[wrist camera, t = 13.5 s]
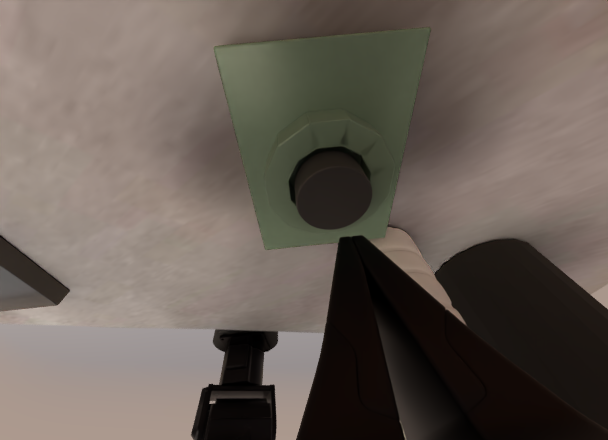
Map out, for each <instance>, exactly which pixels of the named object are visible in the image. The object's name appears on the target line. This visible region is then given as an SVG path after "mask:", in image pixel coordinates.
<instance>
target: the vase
mask: <svg viewBox="0 0 608 440" xmlns="http://www.w3.org/2000/svg"><path fill="white" fill-rule="evenodd" d="M435 277H436V280H437V281H438V282H439V283H440V284H441V286H442V287H443V289H444V290H445V292H446V293H447V295H448V296H449V298H450V300H451V305H452V307H453V308H454V309H456V310H457V311H458V312H459V314H460V315H461V316H462V318H463V320H464V321H465V323H466V325H467V327H469V328H470V329H471V330H472V331H473V332H475V333H476V334H477V335H478V336H479V337H481V338H482V339H483V340H484V341H486V342H487V343H488V344H490V345H491V346H492V347H493V348H495V349H496V350H497V351H499V352H500V353H501V354H502V355H504V356H505V357H506V358H508V359H509V360H510V361H512V362H513V363H514V364H516V365H517V366H518V367H520V368H521V369H522V370H524V371H525V372H526V373H528V374H529V375H530V376H531V377H533V378H534V379H535V380H537V381H538V382H539V383H541V384H542V385H543V386H545V387H546V388H547V389H549V390H550V391H551V392H553V393H554V394H555V395H557V396H558V397H559V398H561V399H562V400H563V401H565V402H566V403H567V404H569V405H570V406H571V407H573V408H574V409H576V410H577V411H578V412H580V413H582V414H583V415H585V416H586V417H588V418H589V419H591V420H592V421H594V422H595V423H597V424H599V425H600V426H602V427H604V428H605V429H607V430H608V309H607V308H605V307H604V306H603V305H602V304H601V303H599V302H598V301H597V300H596V299H595V298H593V297H592V296H591V295H590V294H589V293H587V292H586V291H585V290H584V289H583V288H581V287H580V286H579V285H578V284H577V283H575V282H574V281H573V280H572V279H571V278H569V277H568V276H567V275H566V274H565V273H563V272H562V271H561V270H560V269H559V268H557V267H556V266H555V265H554V264H553V263H551V262H550V261H549V260H548V259H547V258H545V257H544V256H543V255H542V254H541V253H539V252H538V251H537V250H536V249H535V248H533V247H532V246H531V245H530V244H529V243H527V242H523V241H519V240H515V239H512V240H497V241H492V242H488V243H485V244H481V245H478V246H475V247H473V248H471V249H468V250H466V251H464V252H462V253H460V254H458V255H456V256H455V257H454V258H452V259H451V260H450V261H448V262H447V263H446V264H444V265H443V266H442V267H441V269H440V270H439V271H438V272H437V273H436V275H435Z"/></svg>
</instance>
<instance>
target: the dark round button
mask: <svg viewBox="0 0 608 440" xmlns="http://www.w3.org/2000/svg"><path fill="white" fill-rule="evenodd" d="M294 184H295V198H296V207H297V210H298V213H299V215H300V216H301V217H302V219H303V220H304V221H305V222H307V223H308V224H309V225H311V226H313V227H316V228H319V229H324V230H335V229H340V228H344V227H346V226H349V225H351V224H353V223H354V222H356V221H357V220H359V219H360V218H361V217H362V216H363V215H364V214H365V212H366V211H367V209H368V208H369V206H370V203H371V199H372V187H371V183H370V181H369V179H368V178H367V176H366V174H365V173H364V171H363V170H362V168H361V166H360V165H359V163H358V162H357V161H356V160H355V158H353V157H352V156H351V155H349V154H347V153H344V152H341V151H324V152H320V153H318V154H315V155H313V156H312V157H310V158H309V159H307V160H306V161H305V162H304V163H303V164H302V165H301V167H300V168H299V170H298V172H297V174H296V177H295V183H294Z"/></svg>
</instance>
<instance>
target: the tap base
mask: <svg viewBox="0 0 608 440" xmlns="http://www.w3.org/2000/svg"><path fill="white" fill-rule="evenodd" d="M68 292H69V290H68V289H66V288H65V287H64V286H63V285H61V284H60V283H59V282H58V281H56V280H55V279H54V278H52V277H51V276H50V275H49V274H47V273H46V272H45V271H44V270H42V269H41V268H40V267H38V266H37V265H36V264H35V263H33V262H32V261H31V260H30V259H28V258H27V257H26V256H24V255H23V254H22V253H21V252H19V251H18V250H17V249H16V248H14V247H13V246H12V245H10V244H9V243H8V242H7V241H5V240H4V239H3V238H2V237H0V311H8V310H18V309H27V308H37V307H46V306H56V305H58V304H59V303H60V302H61V301H62V300H63V298H64V297H65V296H66V295H67V294H68Z"/></svg>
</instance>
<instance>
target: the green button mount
mask: <svg viewBox="0 0 608 440" xmlns="http://www.w3.org/2000/svg"><path fill="white" fill-rule="evenodd" d="M430 31H431V28H430V27H425V28H412V29H400V30H389V31H377V32H366V33H355V34H344V35H332V36H321V37H310V38H299V39H287V40H276V41H265V42H254V43H242V44H231V45H221V46H215V47H214V53H215V57H216V60H217V64H218V68H219V72H220V76H221V80H222V84H223V88H224V92H225V95H226V99H227V103H228V107H229V111H230V115H231V119H232V123H233V126H234V130H235V134H236V138H237V142H238V146H239V150H240V154H241V157H242V161H243V165H244V169H245V173H246V177H247V181H248V185H249V188H250V192H251V196H252V200H253V204H254V208H255V212H256V216H257V220H258V223H259V227H260V231H261V235H262V239H263V243H264V247H265V250H271V249H280V248H290V247H300V246H310V245H319V244H329V243H339V238H340V237H347V236H350V237H352V236H357V235H363V236H364V237H366V238H367V239H378V238H385V235H386V231H387V226H388V222H389V217H390V212H391V208H392V203H393V199H394V194H395V190H396V185H397V181H398V176H399V172H400V167H401V163H402V158H403V154H404V149H405V144H406V140H407V135H408V131H409V126H410V122H411V117H412V113H413V108H414V104H415V99H416V95H417V90H418V86H419V81H420V76H421V72H422V67H423V63H424V58H425V54H426V49H427V45H428V40H429V36H430ZM324 151H341V152H344V153H347V154H349V155H351V156H352V157H353V158H355V160H356V161H357V162H358V163H359V165H360V166H361V168H362V170H363V171H364V173H365V174H366V176H367V178H368V179H369V181H370V183H371V187H372V199H371V203H370V206H369V208H368V209H367V211H366V212H365V214H364V215H363V216H362V217H361V218H360V219H359V220H357V221H356V222H354V223H353V224H351V225H349V226H346V227H344V228H340V229H335V230H324V229H319V228H316V227H313V226H311V225H309V224H308V223H307V222H305V221H304V220H303V219H302V217H301V216H300V215H299V213H298V210H297V207H296V198H295V184H294V183H295V177H296V174H297V172H298V170H299V168H300V167H301V165H302V164H303V163H304V162H305V161H306V160H307V159H309V158H310V157H312V156H313V155H315V154H318V153H320V152H324Z"/></svg>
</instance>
